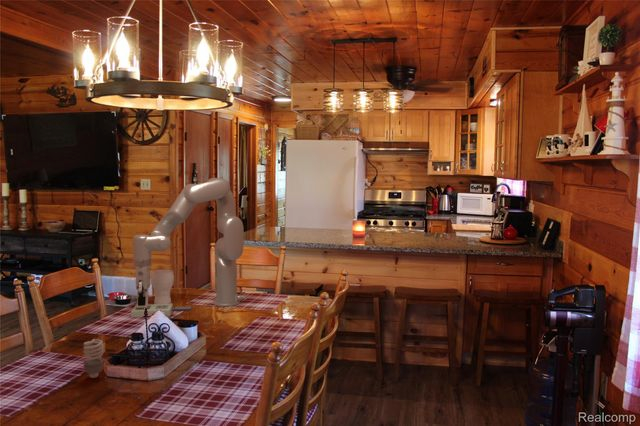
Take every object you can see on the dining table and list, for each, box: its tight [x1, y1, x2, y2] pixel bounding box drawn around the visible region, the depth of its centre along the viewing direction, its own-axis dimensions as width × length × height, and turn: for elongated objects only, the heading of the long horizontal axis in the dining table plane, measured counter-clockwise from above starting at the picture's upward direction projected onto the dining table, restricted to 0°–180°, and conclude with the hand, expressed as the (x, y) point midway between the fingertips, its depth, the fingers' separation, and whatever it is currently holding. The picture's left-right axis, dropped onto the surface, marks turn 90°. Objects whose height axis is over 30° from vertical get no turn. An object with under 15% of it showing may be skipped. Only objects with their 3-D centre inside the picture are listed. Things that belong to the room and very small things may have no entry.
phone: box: [172, 306, 193, 312], centre depth 236 cm, size 8×4×1 cm, turn 98°
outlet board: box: [130, 302, 174, 318], centre depth 229 cm, size 16×12×3 cm
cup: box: [150, 269, 175, 304], centre depth 247 cm, size 11×11×15 cm
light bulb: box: [82, 338, 104, 379], centre depth 157 cm, size 6×6×12 cm
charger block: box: [136, 289, 149, 308], centre depth 228 cm, size 4×4×7 cm
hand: (142, 303), depth 228 cm, fingers closed on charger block, 4 cm apart
